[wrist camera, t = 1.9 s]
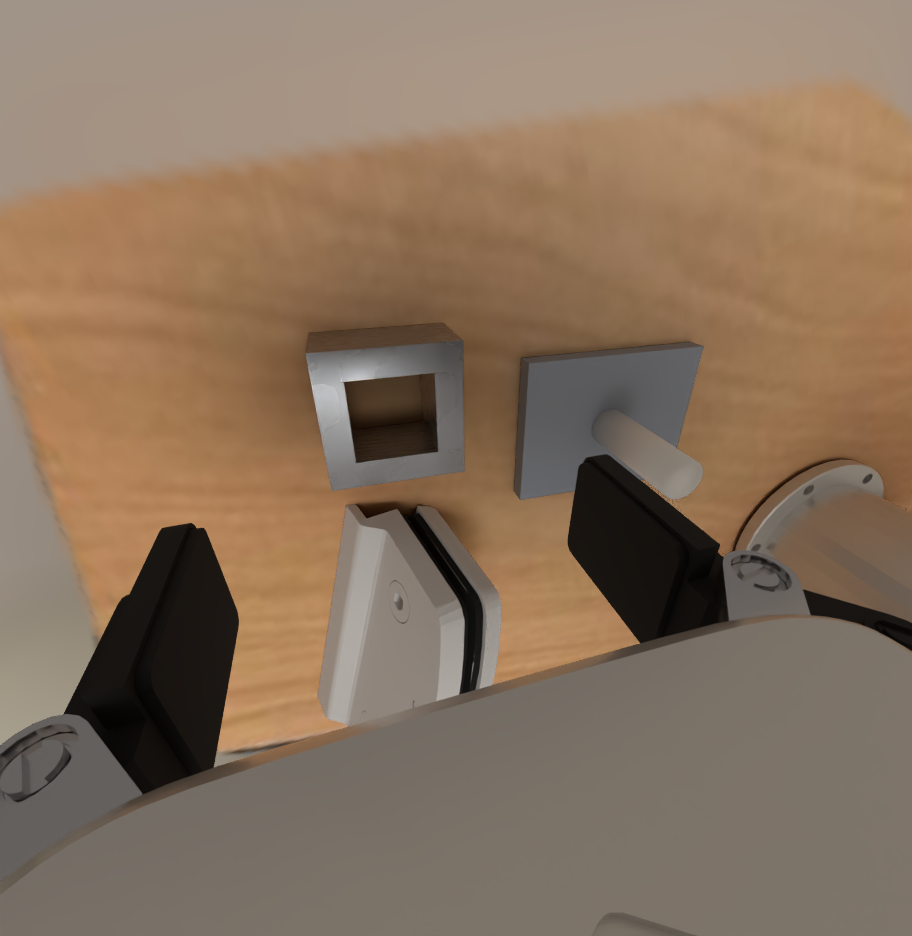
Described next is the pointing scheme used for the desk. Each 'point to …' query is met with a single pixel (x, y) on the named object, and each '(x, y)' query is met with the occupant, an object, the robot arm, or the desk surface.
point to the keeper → (606, 417)
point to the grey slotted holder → (405, 618)
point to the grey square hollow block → (394, 446)
